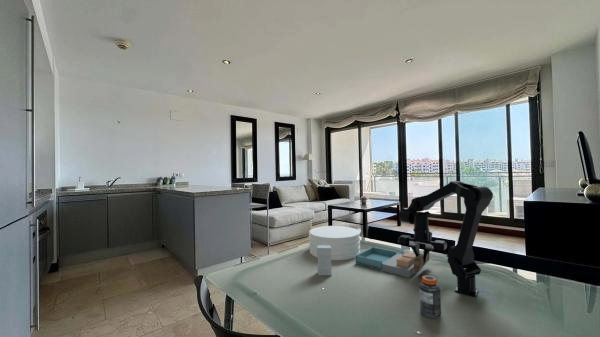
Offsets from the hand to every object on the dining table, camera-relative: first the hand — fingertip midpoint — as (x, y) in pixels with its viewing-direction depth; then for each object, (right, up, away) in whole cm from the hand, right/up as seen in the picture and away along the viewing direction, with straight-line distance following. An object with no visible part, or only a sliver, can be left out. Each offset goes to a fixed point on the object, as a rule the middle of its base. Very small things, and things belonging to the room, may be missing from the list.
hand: (422, 261), depth 111 cm
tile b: (-2, -2, +7) cm, 7 cm away
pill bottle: (-13, -5, -32) cm, 34 cm away
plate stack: (-34, -6, +31) cm, 47 cm away
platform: (-6, -5, +6) cm, 10 cm away
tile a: (-7, -2, +2) cm, 7 cm away
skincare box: (-43, -6, +1) cm, 43 cm away
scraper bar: (0, -1, 0) cm, 1 cm away
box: (-16, -5, +14) cm, 22 cm away
